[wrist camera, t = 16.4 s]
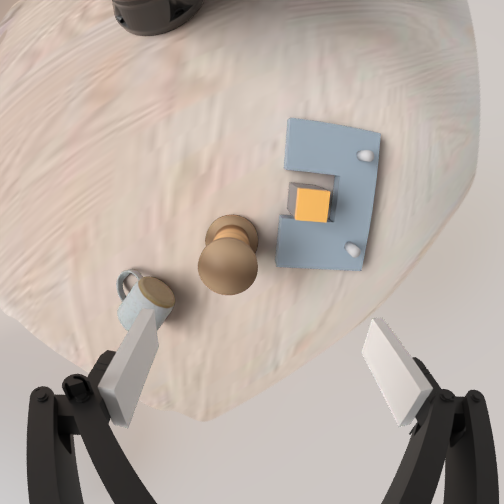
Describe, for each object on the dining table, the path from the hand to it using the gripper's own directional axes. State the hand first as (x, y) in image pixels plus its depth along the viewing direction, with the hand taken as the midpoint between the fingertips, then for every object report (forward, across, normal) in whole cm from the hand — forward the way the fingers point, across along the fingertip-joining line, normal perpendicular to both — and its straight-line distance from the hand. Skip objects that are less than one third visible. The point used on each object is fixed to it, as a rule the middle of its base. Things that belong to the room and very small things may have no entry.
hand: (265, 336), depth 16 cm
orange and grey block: (+29, +7, +4) cm, 30 cm away
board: (+29, +11, +5) cm, 31 cm away
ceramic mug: (+29, -18, -13) cm, 37 cm away
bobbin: (+29, -3, -3) cm, 29 cm away
